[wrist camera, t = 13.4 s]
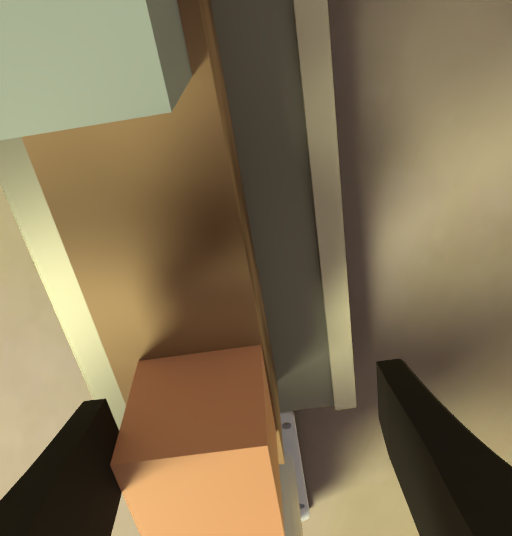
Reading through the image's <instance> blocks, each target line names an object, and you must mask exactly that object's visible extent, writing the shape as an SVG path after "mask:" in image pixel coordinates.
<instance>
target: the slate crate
mask: <svg viewBox="0 0 512 536" xmlns="http://www.w3.org/2000/svg"><path fill="white" fill-rule="evenodd" d="M191 78H192V72H191V67H190V62H189V57H188V53H187V48H186V43H185V38H184V33H183V28H182V23H181V18H180V13H179V8H178V3H177V0H0V140H6V139H12V138H18V137H24V136H30V135H36V134H42V133H48V132H54V131H61V130H67V129H73V128H79V127H85V126H91V125H97V124H103V123H109V122H116V121H122V120H128V119H134V118H140V117H146V116H152V115H158V114H164V113H170V112H172V111H173V109H174V107H175V106H176V104H177V102H178V100H179V99H180V97H181V95H182V93H183V92H184V90H185V88H186V86H187V85H188V83H189V81H190V80H191Z"/></svg>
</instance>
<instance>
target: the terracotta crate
mask: <svg viewBox="0 0 512 536" xmlns="http://www.w3.org/2000/svg"><path fill="white" fill-rule="evenodd" d="M110 466H111V469H112V471H113V473H114V475H115V478H116V480H117V482H118V485H119V487H120V489H121V492H122V494H123V496H124V499H125V501H126V503H127V506H128V508H129V510H130V512H131V515H132V517H133V519H134V522H135V524H136V526H137V529H138V531H139V533H140V536H285V530H284V518H283V507H282V495H281V484H280V472H279V460H278V449H277V437H276V429H275V423H274V417H273V411H272V406H271V400H270V394H269V388H268V383H267V377H266V371H265V365H264V360H263V354H262V348H261V345H255V346H247V347H240V348H232V349H225V350H217V351H209V352H202V353H194V354H187V355H179V356H172V357H164V358H157V359H149V360H142V361H138V364H137V367H136V371H135V375H134V379H133V382H132V386H131V390H130V393H129V397H128V401H127V404H126V408H125V412H124V416H123V419H122V423H121V427H120V430H119V434H118V438H117V441H116V445H115V449H114V453H113V456H112V460H111V464H110Z"/></svg>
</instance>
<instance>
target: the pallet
mask: <svg viewBox="0 0 512 536" xmlns="http://www.w3.org/2000/svg"><path fill="white" fill-rule="evenodd" d="M177 3H178V8H179V13H180V18H181V23H182V28H183V33H184V38H185V43H186V48H187V53H188V57H189V62H190V67H191V72H192V78H191V80H190V81H189V83H188V85H187V86H186V88H185V90H184V92H183V93H182V95H181V97H180V99H179V100H178V102H177V104H176V106H175V107H174V109H173V111H172V112H170V113H164V114H158V115H152V116H146V117H140V118H134V119H128V120H122V121H116V122H109V123H103V124H97V125H91V126H85V127H79V128H73V129H67V130H61V131H54V132H48V133H42V134H36V135H30V136H24V137H21V138H22V140H23V143H24V145H25V148H26V151H27V153H28V156H29V158H30V161H31V163H32V166H33V168H34V171H35V174H36V176H37V179H38V181H39V184H40V186H41V189H42V192H43V194H44V197H45V199H46V202H47V204H48V207H49V209H50V212H51V215H52V217H53V220H54V222H55V225H56V227H57V230H58V233H59V235H60V238H61V240H62V243H63V245H64V248H65V251H66V253H67V256H68V258H69V261H70V263H71V266H72V268H73V271H74V274H75V276H76V279H77V281H78V284H79V286H80V289H81V292H82V294H83V297H84V299H85V302H86V304H87V307H88V309H89V312H90V315H91V317H92V320H93V322H94V325H95V327H96V330H97V333H98V335H99V338H100V340H101V343H102V345H103V348H104V351H105V353H106V356H107V358H108V361H109V363H110V366H111V368H112V371H113V374H114V376H115V379H116V381H117V384H118V386H119V389H120V392H121V394H122V397H123V399H124V402H125V404H127V401H128V397H129V393H130V390H131V386H132V382H133V379H134V375H135V371H136V367H137V364H138V361H142V360H149V359H157V358H164V357H172V356H179V355H187V354H194V353H202V352H209V351H217V350H225V349H232V348H240V347H247V346H255V345H261V348H262V354H263V360H264V365H265V371H266V377H267V383H268V388H269V394H270V400H271V406H272V411H273V417H274V423H275V429H276V437H277V449H278V460H279V465H280V464H285V461H284V450H283V439H282V429H281V418H280V407H279V396H278V385H277V378H276V372H275V366H274V361H273V355H272V349H271V344H270V338H269V332H268V326H267V321H266V315H265V309H264V304H263V298H262V292H261V286H260V281H259V275H258V269H257V264H256V258H255V252H254V247H253V241H252V235H251V229H250V224H249V218H248V212H247V207H246V201H245V195H244V190H243V184H242V178H241V172H240V167H239V161H238V155H237V150H236V144H235V138H234V132H233V127H232V121H231V115H230V110H229V104H228V98H227V93H226V87H225V81H224V75H223V70H222V64H221V58H220V53H219V47H218V41H217V36H216V30H215V24H214V18H213V13H212V7H211V1H210V0H177Z"/></svg>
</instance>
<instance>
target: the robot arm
mask: <svg viewBox="0 0 512 536" xmlns="http://www.w3.org/2000/svg"><path fill="white" fill-rule="evenodd" d="M376 363H377V387H378V411H379V421H380V425H381V428H382V432H383V436H384V440H385V444H386V447H387V451H388V455H389V457H390V460H391V463H392V465H393V468H394V470H395V473H396V476H397V478H398V481H399V483H400V486H401V489H402V491H403V494H404V496H405V499H406V501H407V504H408V507H409V509H410V512H411V514H412V517H413V519H414V522H415V525H416V527H417V530H418V532H419V535H420V536H512V466H510V465H509V464H508V463H507V462H505V461H504V460H503V459H502V458H500V457H499V456H498V455H497V454H496V453H494V452H493V451H492V450H491V449H490V448H488V447H487V446H486V445H485V444H484V443H483V442H482V441H480V440H479V439H478V438H477V437H476V436H475V435H474V434H473V433H471V432H470V431H469V430H468V429H467V428H466V427H465V426H464V425H463V424H462V423H461V422H460V421H459V420H458V419H457V418H456V417H455V416H454V415H453V414H452V413H451V412H450V411H449V410H448V409H447V408H446V407H445V406H444V405H443V404H442V403H441V402H440V401H439V400H438V399H437V398H436V397H435V396H434V395H433V394H432V393H431V392H430V391H429V390H428V389H427V387H426V386H425V385H424V384H423V383H422V382H421V381H420V380H419V379H418V377H417V376H416V375H415V374H414V373H413V372H412V370H411V369H410V368H409V367H408V366H407V364H406V363H405V362H404V361H403V360H401V359H393V360H386V361H378V362H376ZM280 418H281V429H282V439H283V450H284V461H285V464H280V465H279V472H280V484H281V495H282V507H283V518H284V530H285V536H303V533H302V524H301V521H305V520H307V519H308V518H309V517H310V510H309V504H308V498H307V492H306V485H305V479H304V473H303V467H302V460H301V454H300V448H299V442H298V435H297V429H296V423H295V416H294V412H293V411H290V412H283V413H280ZM284 423H287V424H284ZM118 434H119V429H118V427H117V424H116V422H115V419H114V417H113V414H112V412H111V410H110V407H109V405H108V402H107V400H106V398H105V399H97V400H90V401H84V402H83V403H82V404H81V405H80V406H79V408H78V409H77V410H76V411H75V413H74V414H73V415H72V416H71V418H70V419H69V420H68V421H67V423H66V424H65V425H64V426H63V428H62V429H61V430H60V431H59V433H58V434H57V435H56V436H55V438H54V439H53V440H52V441H51V443H50V444H49V445H48V446H47V447H46V449H45V450H44V451H43V452H42V453H41V455H40V456H39V457H38V458H37V460H36V461H35V462H34V463H33V464H32V466H31V467H30V468H29V469H28V470H27V471H26V472H25V474H24V475H23V476H22V477H21V478H20V479H19V480H18V481H17V483H16V484H15V485H14V486H13V487H12V488H11V489H10V490H9V491H8V493H7V494H6V495H5V496H4V497H3V498H2V499H1V500H0V536H111V533H112V529H113V525H114V521H115V517H116V513H117V509H118V506H119V502H120V498H121V493H122V492H121V489H120V487H119V485H118V482H117V480H116V478H115V475H114V473H113V471H112V469H111V466H110V464H111V460H112V456H113V453H114V449H115V445H116V441H117V438H118Z"/></svg>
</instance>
